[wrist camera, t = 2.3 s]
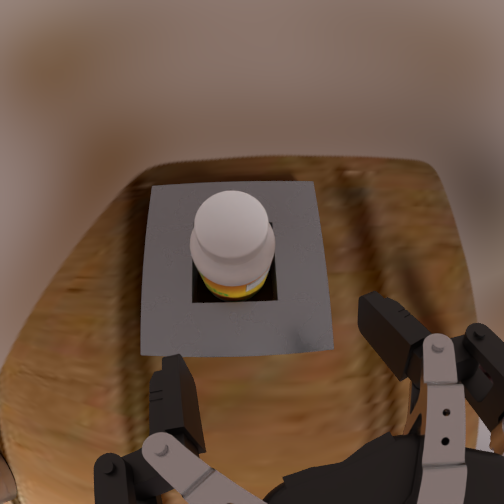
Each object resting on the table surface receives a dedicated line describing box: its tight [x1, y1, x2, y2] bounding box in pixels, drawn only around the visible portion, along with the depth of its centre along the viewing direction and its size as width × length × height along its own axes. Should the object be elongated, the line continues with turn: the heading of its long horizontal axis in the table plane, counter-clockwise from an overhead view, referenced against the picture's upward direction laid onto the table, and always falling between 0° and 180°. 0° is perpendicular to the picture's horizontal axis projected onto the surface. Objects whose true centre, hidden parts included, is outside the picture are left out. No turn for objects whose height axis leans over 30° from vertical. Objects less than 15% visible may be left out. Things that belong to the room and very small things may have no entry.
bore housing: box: [141, 181, 334, 357], centre depth 23 cm, size 14×14×3 cm
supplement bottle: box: [190, 191, 275, 302], centre depth 19 cm, size 5×5×10 cm
